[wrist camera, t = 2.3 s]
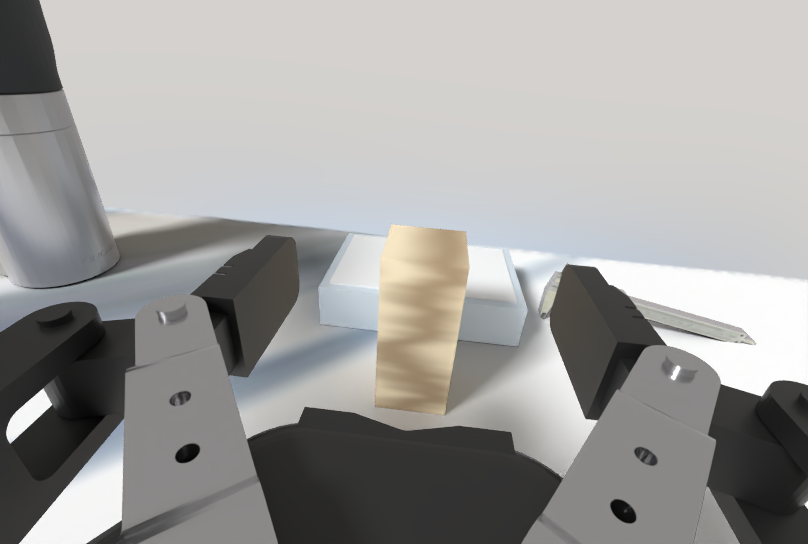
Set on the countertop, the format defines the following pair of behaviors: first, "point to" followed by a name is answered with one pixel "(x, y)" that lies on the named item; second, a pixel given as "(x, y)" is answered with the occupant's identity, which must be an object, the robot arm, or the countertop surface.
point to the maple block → (419, 316)
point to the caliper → (662, 316)
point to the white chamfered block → (483, 304)
